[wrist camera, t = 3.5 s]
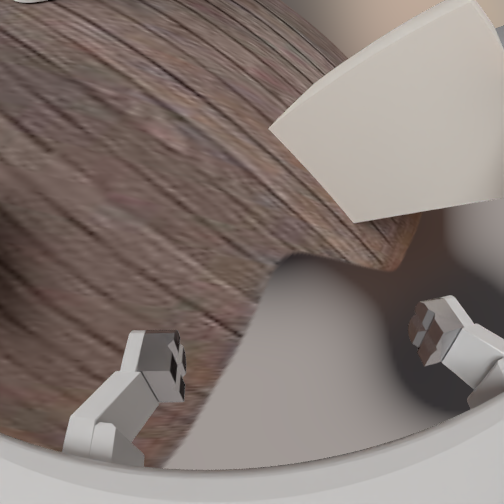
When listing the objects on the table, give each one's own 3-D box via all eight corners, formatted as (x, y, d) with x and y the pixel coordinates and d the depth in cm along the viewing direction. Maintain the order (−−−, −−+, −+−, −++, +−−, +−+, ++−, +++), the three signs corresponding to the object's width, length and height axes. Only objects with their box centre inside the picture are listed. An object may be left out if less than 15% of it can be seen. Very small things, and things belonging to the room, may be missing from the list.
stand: (353, 223, 37) (570, 187, 12) (268, 128, 32) (490, -7, 7) (383, 166, 41) (551, 118, 16) (314, 83, 36) (480, -17, 11)
